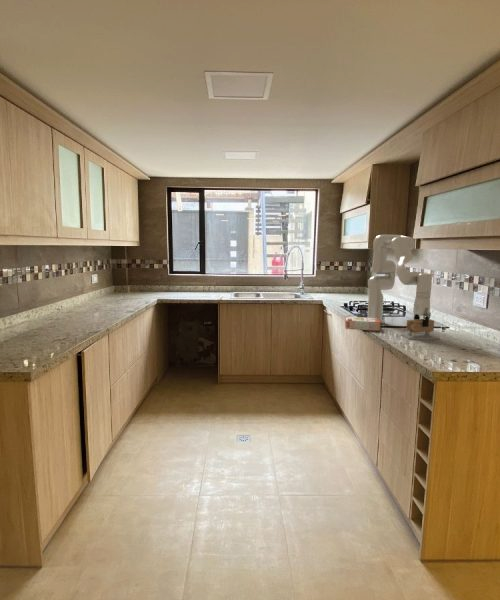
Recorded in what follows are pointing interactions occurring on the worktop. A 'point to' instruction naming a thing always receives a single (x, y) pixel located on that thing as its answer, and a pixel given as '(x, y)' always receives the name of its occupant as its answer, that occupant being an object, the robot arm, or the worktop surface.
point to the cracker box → (362, 323)
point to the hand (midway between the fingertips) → (420, 324)
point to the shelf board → (419, 325)
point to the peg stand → (420, 336)
